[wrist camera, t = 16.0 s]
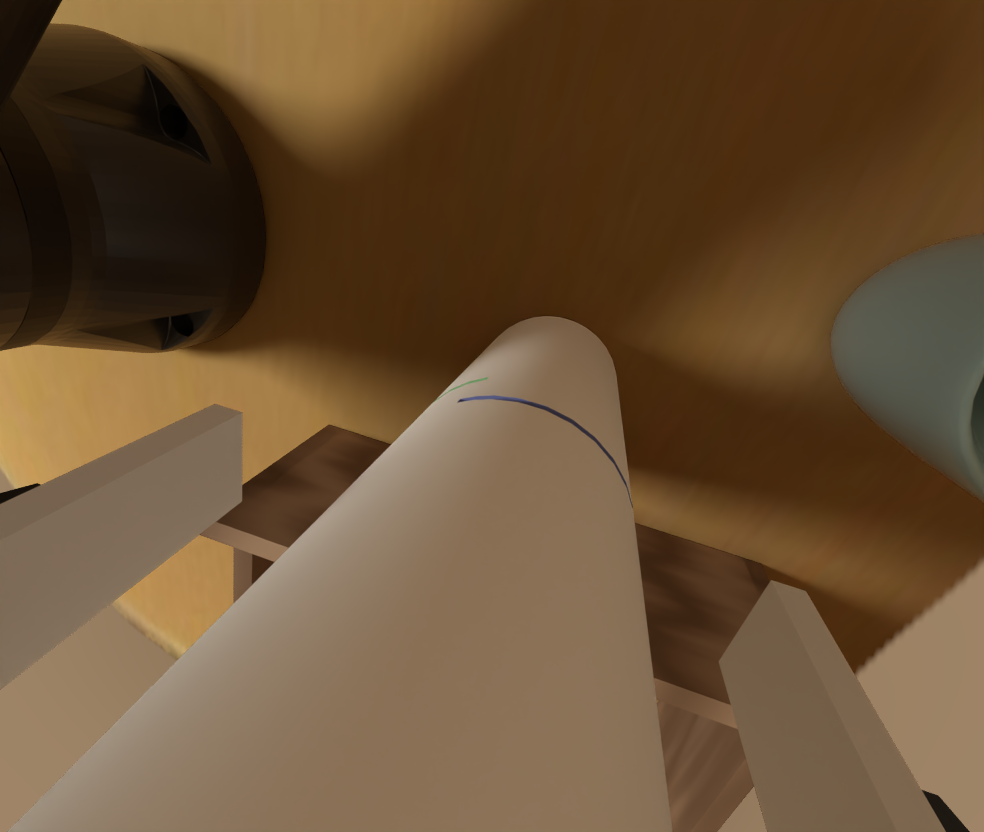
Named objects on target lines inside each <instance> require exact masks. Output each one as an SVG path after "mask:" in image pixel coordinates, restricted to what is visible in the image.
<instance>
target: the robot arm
mask: <svg viewBox="0 0 984 832" xmlns="http://www.w3.org/2000/svg"><path fill="white" fill-rule="evenodd" d="M61 1H62V0H0V351H2V350H7V349H12V348H17V347H23V346H29V345H51V346H64V347H76V348H89V349H101V350H114V351H127V352H139V353H158V352H168V351H174V350H178V349H181V348H185V347H189V346H193V345H196V344H200V343H204V342H207V341H210V340H212V339H214V338H216V337H218V336H220V335H222V334H223V333H225V332H226V331H228V330H229V329H230V328H231V327H233V326H234V325H235V324H236V323H237V322H238V321H239V319H240V318H241V317H242V316H243V315H244V313H245V312H246V310H247V309H248V307H249V305H250V304H251V302H252V300H253V298H254V296H255V294H256V291H257V288H258V285H259V282H260V279H261V275H262V270H263V265H264V257H265V221H264V213H263V207H262V202H261V197H260V193H259V189H258V185H257V182H256V178H255V175H254V172H253V170H252V167H251V164H250V161H249V159H248V157H247V155H246V152H245V150H244V148H243V146H242V144H241V142H240V140H239V138H238V136H237V134H236V133H235V131H234V129H233V128H232V126H231V124H230V123H229V121H228V120H227V118H226V117H225V115H224V114H223V112H222V111H221V110H220V108H219V107H218V106H217V104H216V103H215V102H214V101H213V99H212V98H211V97H210V96H209V95H208V94H207V93H206V91H205V90H204V89H203V88H202V87H201V86H200V85H199V84H198V83H197V82H196V81H195V80H193V79H192V78H191V77H190V76H189V75H188V74H187V73H185V72H184V71H183V70H182V69H180V68H179V67H178V66H176V65H175V64H173V63H172V62H170V61H169V60H167V59H165V58H164V57H162V56H160V55H158V54H156V53H154V52H152V51H150V50H148V49H145V48H143V47H140V46H138V45H135V44H133V43H130V42H128V41H126V40H123V39H121V38H118V37H116V36H113V35H111V34H108V33H106V32H103V31H99V30H96V29H92V28H87V27H82V26H77V25H69V24H49V23H50V21H51V20H52V18H53V16H54V14H55V12H56V10H57V9H58V7H59V5H60V3H61ZM241 502H242V412H239V411H236V410H233V409H230V408H227V407H223V406H220V405H217V404H214V405H211V406H209V407H207V408H205V409H203V410H201V411H199V412H196V413H194V414H192V415H190V416H188V417H186V418H184V419H181V420H179V421H177V422H175V423H173V424H171V425H169V426H166V427H164V428H162V429H160V430H158V431H156V432H154V433H151V434H149V435H147V436H145V437H143V438H141V439H139V440H136V441H134V442H132V443H130V444H128V445H126V446H124V447H121V448H119V449H117V450H115V451H113V452H111V453H109V454H106V455H104V456H102V457H100V458H98V459H96V460H94V461H91V462H89V463H87V464H85V465H83V466H81V467H79V468H76V469H74V470H72V471H70V472H68V473H66V474H64V475H61V476H59V477H57V478H55V479H53V480H51V481H49V482H47V483H44V484H42V485H40V484H33V485H29V486H25V487H22V488H18V489H14V490H10V491H7V492H3V493H0V690H1V689H2V688H3V687H5V686H6V685H7V684H8V683H10V682H11V681H12V680H14V679H15V678H16V677H17V676H19V675H20V674H21V673H23V672H24V671H25V670H26V669H28V668H29V667H30V666H32V665H33V664H34V663H35V662H37V661H38V660H39V659H41V658H42V657H43V656H44V655H46V654H47V653H48V652H49V651H51V650H52V649H53V648H55V647H56V646H57V645H58V644H60V643H61V642H62V641H64V640H65V639H66V638H67V637H69V636H70V635H71V634H73V633H74V632H75V631H76V630H78V629H79V628H80V627H81V626H83V625H84V624H85V623H87V622H88V621H89V620H91V619H92V618H93V617H94V616H96V615H97V614H98V613H100V612H101V611H102V610H103V609H105V608H106V607H107V606H108V605H110V604H111V603H112V602H114V601H115V600H116V599H117V598H119V597H120V596H121V595H123V594H124V593H125V592H126V591H128V590H129V589H130V588H132V587H133V586H134V585H135V584H137V583H138V582H139V581H141V580H142V579H143V578H144V577H146V576H147V575H148V574H150V573H151V572H152V571H153V570H155V569H156V568H157V567H158V566H160V565H161V564H162V563H164V562H165V561H166V560H167V559H169V558H170V557H171V556H173V555H174V554H175V553H176V552H178V551H179V550H180V549H182V548H183V547H184V546H185V545H187V544H188V543H189V542H191V541H192V540H193V539H194V538H196V537H197V536H198V535H200V534H201V533H202V532H203V531H205V530H206V529H207V528H208V527H210V526H211V525H212V524H214V523H215V522H216V521H217V520H219V519H220V518H221V517H223V516H224V515H225V514H226V513H228V512H229V511H230V510H232V509H233V508H234V507H235V506H237V505H238V504H239V503H241ZM719 665H720V668H721V672H722V675H723V679H724V682H725V686H726V689H727V693H728V696H729V700H730V703H731V707H732V710H733V714H734V717H735V721H736V724H737V728H738V731H739V735H740V738H741V742H742V745H743V749H744V752H745V756H746V759H747V763H748V766H749V770H750V773H751V777H752V780H753V784H754V787H755V791H756V794H757V798H758V801H759V805H760V808H761V812H762V815H763V819H764V822H765V825H766V829H767V832H969V831H968V829H967V828H966V827H965V826H964V825H963V824H962V822H961V821H960V820H959V819H958V818H957V817H956V815H955V814H954V813H953V812H952V811H951V810H950V809H949V807H948V806H947V805H946V804H945V803H944V802H943V800H942V799H941V798H940V797H939V796H938V795H935V794H932V793H929V792H926V791H923V790H921V788H920V786H919V785H918V783H917V781H916V780H915V778H914V776H913V774H912V773H911V771H910V769H909V767H908V766H907V764H906V762H905V761H904V759H903V757H902V756H901V754H900V752H899V750H898V749H897V747H896V745H895V743H894V742H893V740H892V738H891V737H890V735H889V733H888V731H887V730H886V728H885V726H884V724H883V723H882V721H881V719H880V718H879V716H878V714H877V713H876V711H875V709H874V707H873V706H872V704H871V702H870V700H869V699H868V697H867V695H866V694H865V692H864V690H863V688H862V687H861V685H860V683H859V682H858V680H857V678H856V676H855V675H854V673H853V671H852V669H851V668H850V666H849V664H848V663H847V661H846V659H845V657H844V656H843V654H842V652H841V651H840V649H839V647H838V645H837V644H836V642H835V640H834V638H833V637H832V635H831V633H830V632H829V630H828V628H827V626H826V625H825V623H824V621H823V620H822V618H821V616H820V614H819V613H818V611H817V609H816V608H815V606H814V604H813V602H812V601H811V599H810V597H809V595H808V594H807V592H806V591H804V590H801V589H798V588H795V587H792V586H789V585H786V584H782V583H779V582H776V581H773V580H771V581H770V582H769V584H768V586H767V587H766V589H765V590H764V592H763V593H762V595H761V596H760V598H759V600H758V601H757V603H756V604H755V606H754V607H753V609H752V610H751V612H750V613H749V615H748V617H747V618H746V620H745V621H744V623H743V624H742V626H741V627H740V629H739V631H738V632H737V634H736V635H735V637H734V638H733V640H732V641H731V643H730V645H729V646H728V648H727V649H726V651H725V652H724V654H723V655H722V657H721V659H720V660H719Z"/></svg>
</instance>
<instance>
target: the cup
mask: <svg viewBox="0 0 984 832" xmlns="http://www.w3.org/2000/svg"><path fill="white" fill-rule="evenodd" d="M830 353H831V357H832V362H833V367H834V370H835V372H836V374H837V376H838V379H839V381H840V383H841V385H842V386H843V388H844V389H845V391H846V392H847V394H848V395H849V396H850V398H851V399H852V400H853V402H854V403H855V404H856V405H857V406H858V407H859V409H860V410H861V411H862V412H863V413H864V414H865V415H866V416H867V417H869V418H870V419H871V420H872V421H873V422H874V423H875V424H876V425H878V426H879V427H880V428H881V429H882V430H883V431H884V432H886V433H887V434H888V435H889V436H890V437H892V438H893V439H894V440H895V441H896V442H898V443H899V444H900V445H902V446H903V447H904V448H906V449H907V450H908V451H910V452H911V453H912V454H914V455H915V456H916V457H918V458H919V459H921V460H922V461H923V462H925V463H926V464H928V465H929V466H930V467H932V468H933V469H935V470H936V471H937V472H939V473H940V474H942V475H943V476H945V477H946V478H947V479H949V480H950V481H952V482H953V483H955V484H956V485H958V486H959V487H960V488H962V489H963V490H965V491H966V492H968V493H969V494H971V495H972V496H974V497H975V498H977V499H979V500H980V501H982V502H983V503H984V232H983V233H978V234H972V235H967V236H961V237H956V238H952V239H948V240H945V241H941V242H938V243H935V244H932V245H929V246H927V247H924V248H921V249H918V250H915V251H913V252H911V253H909V254H907V255H905V256H903V257H901V258H899V259H897V260H895V261H893V262H891V263H889V264H887V265H886V266H884V267H883V268H881V269H880V270H878V271H877V272H875V273H874V274H872V275H871V276H870V277H868V278H867V279H866V280H865V281H864V282H863V283H862V284H860V285H859V286H858V287H857V288H856V289H855V290H854V291H853V292H852V293H851V295H850V296H849V297H848V298H847V299H846V301H845V302H844V303H843V304H842V306H841V308H840V310H839V312H838V313H837V315H836V317H835V319H834V322H833V326H832V329H831V333H830Z"/></svg>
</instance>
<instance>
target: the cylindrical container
mask: <svg viewBox="0 0 984 832" xmlns="http://www.w3.org/2000/svg"><path fill="white" fill-rule="evenodd" d="M7 832H672V824H671V816H670V807H669V799H668V791H667V783H666V775H665V767H664V759H663V751H662V743H661V734H660V726H659V718H658V710H657V702H656V693H655V685H654V677H653V669H652V661H651V653H650V644H649V636H648V628H647V620H646V612H645V604H644V595H643V587H642V579H641V571H640V563H639V554H638V546H637V538H636V530H635V522H634V514H633V506H632V497H631V489H630V481H629V473H628V465H627V457H626V449H625V441H624V433H623V425H622V417H621V409H620V401H619V393H618V384H617V376H616V371H615V367H614V363H613V360H612V358H611V356H610V354H609V352H608V350H607V348H606V347H605V345H604V344H603V343H602V342H601V340H600V339H599V338H598V337H597V336H596V335H595V334H594V333H592V332H591V331H590V330H589V329H587V328H586V327H584V326H582V325H580V324H578V323H576V322H574V321H572V320H569V319H565V318H561V317H553V316H541V317H533V318H529V319H526V320H523V321H520V322H518V323H516V324H514V325H513V326H511V327H509V328H507V329H506V330H505V331H504V332H503V333H502V334H500V335H499V336H498V337H497V338H496V339H495V340H494V341H493V342H492V343H491V344H490V345H489V346H488V347H487V348H486V349H485V350H484V351H483V352H482V353H481V354H480V355H479V356H478V357H477V358H476V359H475V360H474V361H473V362H472V363H471V364H470V365H469V366H468V367H467V369H466V370H465V371H464V372H463V373H462V374H461V375H460V376H459V377H458V378H457V379H456V380H455V381H454V382H453V383H452V384H451V385H450V386H449V387H448V388H447V389H446V390H445V391H444V392H443V393H442V394H441V395H440V396H439V397H438V398H437V399H436V400H435V401H434V402H433V403H432V404H431V405H430V406H429V407H428V408H427V409H426V410H425V411H424V412H423V413H422V414H421V415H420V416H419V417H418V418H417V419H416V420H415V421H414V422H413V423H412V424H411V425H410V426H409V427H408V428H407V429H406V430H405V431H404V432H403V433H402V434H401V435H400V436H399V437H398V438H397V439H396V440H395V441H394V442H393V443H392V444H391V446H390V447H389V448H388V449H387V450H386V451H385V452H384V453H383V454H382V455H381V456H380V457H379V458H378V459H377V460H376V461H375V462H374V463H373V464H372V465H371V466H370V467H369V468H368V469H367V470H366V471H365V472H364V473H363V474H362V475H361V476H360V477H359V478H358V479H357V480H356V481H355V482H354V483H353V484H352V485H351V486H350V487H349V488H348V489H347V490H346V491H345V492H344V493H343V494H342V495H341V496H340V497H339V498H338V499H337V500H336V501H335V502H334V503H333V504H332V505H331V506H330V507H329V508H328V509H327V510H326V511H325V512H324V513H323V514H322V515H321V516H320V517H319V518H318V519H317V520H316V521H315V522H314V523H313V524H312V525H311V526H310V527H309V528H308V529H307V530H306V531H305V532H304V533H303V534H302V535H301V536H300V537H299V538H298V539H297V540H296V541H295V542H294V543H293V544H292V545H291V546H290V547H289V548H288V549H287V550H286V551H285V552H284V553H283V554H282V555H281V556H280V557H279V558H278V559H277V560H276V561H275V562H274V563H273V564H272V565H271V566H270V567H269V568H268V569H267V570H266V571H265V572H264V573H263V574H262V575H261V576H260V577H259V578H258V580H257V581H256V582H255V583H254V584H253V585H252V586H251V587H250V588H249V589H248V590H247V591H246V592H245V593H244V594H243V595H242V596H241V597H240V598H239V599H238V600H237V601H236V602H235V603H234V604H233V605H232V606H231V607H230V608H229V609H228V610H227V611H226V612H225V613H224V614H223V615H222V616H221V617H220V618H219V619H218V620H217V621H216V622H215V623H214V624H213V625H212V626H211V627H210V628H209V629H208V630H207V631H206V632H205V633H204V634H203V635H202V636H201V637H200V638H199V639H198V640H197V641H196V642H195V643H194V644H193V645H192V646H191V647H190V648H189V649H188V650H187V651H186V652H185V653H184V654H183V655H182V656H181V657H180V658H179V659H178V660H177V661H176V662H175V663H174V664H173V665H172V666H171V667H170V668H169V669H168V670H167V671H166V672H165V673H164V674H163V675H162V676H161V677H160V678H159V679H158V680H157V681H156V682H155V683H154V684H153V685H152V686H151V687H150V688H149V689H148V690H147V691H146V692H145V693H144V694H143V695H142V696H141V697H140V698H139V699H138V701H136V702H135V703H134V704H133V706H131V707H130V708H129V710H127V712H125V714H124V715H123V716H122V717H121V718H120V719H119V720H118V721H117V722H116V723H115V724H114V725H113V726H112V727H111V728H110V729H109V730H108V731H107V732H106V733H105V734H104V735H103V736H102V737H101V738H100V739H99V740H98V741H97V742H96V743H95V744H94V745H93V746H92V747H91V748H90V749H89V750H88V751H87V752H86V753H85V754H84V755H83V756H82V757H81V758H80V759H79V760H78V761H77V762H76V763H75V764H74V765H73V766H72V767H71V768H70V769H69V770H68V771H67V772H66V773H65V774H64V775H63V776H62V777H61V778H60V779H59V780H58V781H57V782H56V783H55V784H54V785H53V786H52V787H51V788H50V789H49V790H48V791H47V792H46V793H45V794H44V795H43V796H42V797H41V798H40V799H39V800H38V801H37V802H36V803H35V804H34V805H33V806H32V807H31V808H30V809H29V810H28V811H27V812H26V813H25V814H24V815H23V816H22V817H21V818H20V819H19V820H18V821H17V822H16V823H15V824H14V825H13V826H12V827H11V828H10V829H9V830H8V831H7Z"/></svg>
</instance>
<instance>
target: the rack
mask: <svg viewBox="0 0 984 832" xmlns="http://www.w3.org/2000/svg"><path fill="white" fill-rule="evenodd" d="M390 446H391V445H390V444H387V443H384V442H381V441H377V440H374V439H371V438H368V437H365V436H362V435H359V434H356V433H353V432H349V431H346V430H343V429H340V428H337V427H334V426H331V425H327V426H326V427H325V428H323V429H322V430H320V431H319V432H318V433H316V434H315V435H313V436H312V437H310V438H309V439H308V440H306V441H305V442H303V443H302V444H300V445H299V446H298V447H296V448H295V449H293V450H292V451H290V452H289V453H288V454H286V455H285V456H283V457H282V458H281V459H279V460H278V461H276V462H275V463H273V464H272V465H271V466H269V467H268V468H266V469H265V470H263V471H262V472H261V473H259V474H258V475H256V476H255V477H253V478H252V479H251V480H249V481H248V482H246V483H245V484H244V485H242V502H241V503H239V504H238V505H237V506H235V507H234V508H233V509H232V510H230V511H229V512H228V513H226V514H225V515H224V516H223V517H221V518H220V519H219V520H217V521H216V522H215V523H214V524H212V525H211V526H210V527H208V528H207V529H206V530H205V531H203V532H202V533H201V534H200V535H201V536H204V537H207V538H210V539H212V540H215V541H218V542H221V543H223V544H226V545H229V546H232V547H234V603H235V602H236V601H237V600H238V599H239V598H240V597H241V596H242V595H243V594H244V593H245V592H246V591H247V590H248V589H249V588H250V587H251V586H252V585H253V584H254V583H255V582H256V581H257V580H258V578H259V577H260V576H261V575H262V574H263V573H264V572H265V571H266V570H267V569H268V568H269V567H270V566H271V565H272V564H273V563H274V562H275V561H276V560H277V559H278V558H279V557H280V556H281V555H282V554H283V553H284V552H285V551H286V550H287V549H288V548H289V547H290V546H291V545H292V544H293V543H294V542H295V541H296V540H297V539H298V538H299V537H300V536H301V535H302V534H303V533H304V532H305V531H306V530H307V529H308V528H309V527H310V526H311V525H312V524H313V523H314V522H315V521H316V520H317V519H318V518H319V517H320V516H321V515H322V514H323V513H324V512H325V511H326V510H327V509H328V508H329V507H330V506H331V505H332V504H333V503H334V502H335V501H336V500H337V499H338V498H339V497H340V496H341V495H342V494H343V493H344V492H345V491H346V490H347V489H348V488H349V487H350V486H351V485H352V484H353V483H354V482H355V481H356V480H357V479H358V478H359V477H360V476H361V475H362V474H363V473H364V472H365V471H366V470H367V469H368V468H369V467H370V466H371V465H372V464H373V463H374V462H375V461H376V460H377V459H378V458H379V457H380V456H381V455H382V454H383V453H384V452H385V451H386V450H387V449H388V448H389V447H390ZM635 530H636V538H637V546H638V554H639V563H640V571H641V579H642V587H643V595H644V604H645V612H646V620H647V628H648V636H649V644H650V653H651V661H652V669H653V677H654V685H655V693H656V700H658V701H659V702H658V704H657V710H658V718H659V726H660V734H661V743H662V751H663V759H664V767H665V775H666V783H667V791H668V799H669V807H670V816H671V824H672V832H717V831H718V830H719V829H720V828H721V826H722V825H723V824H724V823H725V821H726V820H727V819H728V818H729V816H730V815H731V814H732V813H733V811H734V810H735V809H736V808H737V807H738V805H739V804H740V803H741V802H742V800H743V799H744V798H745V797H746V795H747V794H748V793H749V792H750V790H751V789H752V788H753V787H754V784H753V780H752V777H751V773H750V770H749V766H748V763H747V759H746V756H745V752H744V749H743V745H742V742H741V738H740V735H739V731H738V728H737V724H736V721H735V717H734V714H733V710H732V707H731V703H730V700H729V696H728V693H727V689H726V686H725V682H724V679H723V675H722V672H721V668H720V665H719V660H720V659H721V657H722V655H723V654H724V652H725V651H726V649H727V648H728V646H729V645H730V643H731V641H732V640H733V638H734V637H735V635H736V634H737V632H738V631H739V629H740V627H741V626H742V624H743V623H744V621H745V620H746V618H747V617H748V615H749V613H750V612H751V610H752V609H753V607H754V606H755V604H756V603H757V601H758V600H759V598H760V596H761V595H762V593H763V592H764V590H765V589H766V587H767V586H768V584H769V582H770V581H769V579H768V577H767V575H766V573H765V571H764V569H763V567H762V565H761V564H760V563H757V562H754V561H751V560H747V559H744V558H741V557H738V556H735V555H732V554H729V553H726V552H723V551H719V550H716V549H713V548H710V547H707V546H704V545H701V544H698V543H695V542H692V541H688V540H685V539H682V538H679V537H676V536H673V535H670V534H667V533H664V532H660V531H657V530H654V529H651V528H648V527H645V526H642V525H639V524H636V523H635Z"/></svg>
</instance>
